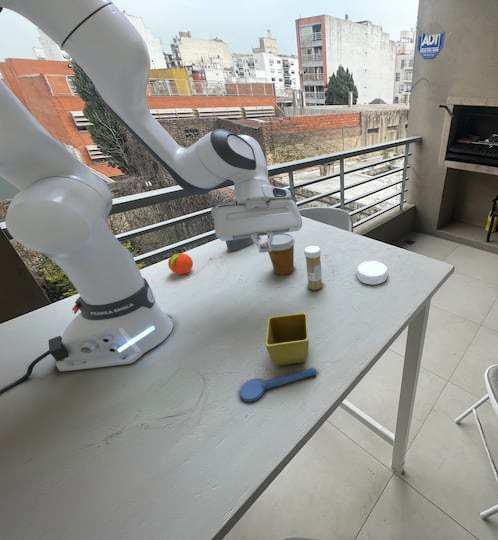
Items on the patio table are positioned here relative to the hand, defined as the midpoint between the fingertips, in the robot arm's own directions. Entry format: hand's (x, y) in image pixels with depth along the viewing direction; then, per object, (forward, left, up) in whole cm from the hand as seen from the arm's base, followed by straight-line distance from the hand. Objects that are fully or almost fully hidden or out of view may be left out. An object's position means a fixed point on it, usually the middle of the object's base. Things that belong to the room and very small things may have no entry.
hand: (265, 251), depth 69 cm
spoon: (-3, -23, -19) cm, 30 cm away
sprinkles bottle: (+13, +9, -20) cm, 25 cm away
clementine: (-27, +31, -20) cm, 45 cm away
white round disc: (+32, +8, -20) cm, 38 cm away
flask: (-7, +46, -20) cm, 50 cm away
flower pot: (+1, -17, -20) cm, 26 cm away
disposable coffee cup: (+5, +22, -20) cm, 30 cm away
